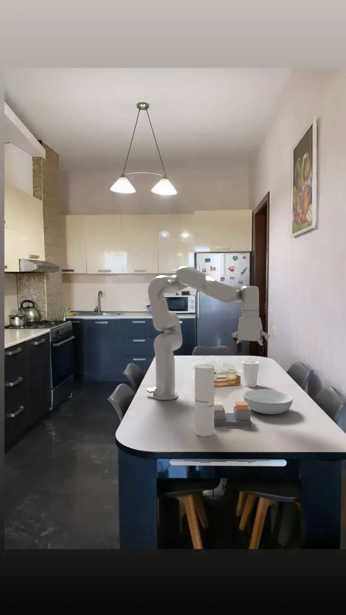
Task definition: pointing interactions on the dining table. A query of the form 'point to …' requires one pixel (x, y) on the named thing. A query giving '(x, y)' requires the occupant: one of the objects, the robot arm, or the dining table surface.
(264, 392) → the serving bowl
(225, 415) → the key panel
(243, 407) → the key terracotta
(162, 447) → the dining table surface
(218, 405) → the key ivory
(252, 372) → the foam cup
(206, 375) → the cylindrical container
